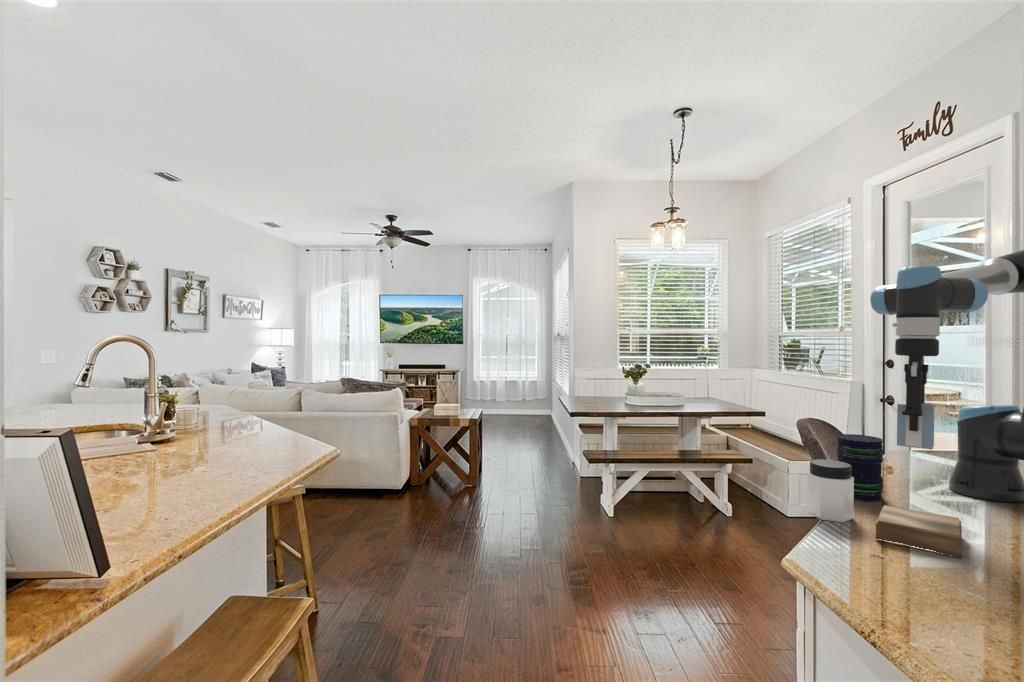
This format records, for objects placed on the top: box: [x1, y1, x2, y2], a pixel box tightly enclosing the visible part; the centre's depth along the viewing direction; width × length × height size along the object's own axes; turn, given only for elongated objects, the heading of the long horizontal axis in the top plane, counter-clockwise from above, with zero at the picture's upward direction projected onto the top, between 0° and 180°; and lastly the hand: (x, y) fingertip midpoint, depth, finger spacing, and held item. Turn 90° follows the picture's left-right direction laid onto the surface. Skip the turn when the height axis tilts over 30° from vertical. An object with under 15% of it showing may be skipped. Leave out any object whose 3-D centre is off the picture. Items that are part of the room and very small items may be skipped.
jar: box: [807, 458, 855, 523], centre depth 118 cm, size 9×8×12 cm
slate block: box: [896, 401, 935, 450], centre depth 113 cm, size 6×6×9 cm
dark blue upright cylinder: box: [836, 433, 884, 503], centre depth 132 cm, size 10×10×15 cm
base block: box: [875, 504, 963, 558], centre depth 104 cm, size 13×13×4 cm
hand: (914, 443), depth 113 cm, fingers closed on slate block, 6 cm apart
